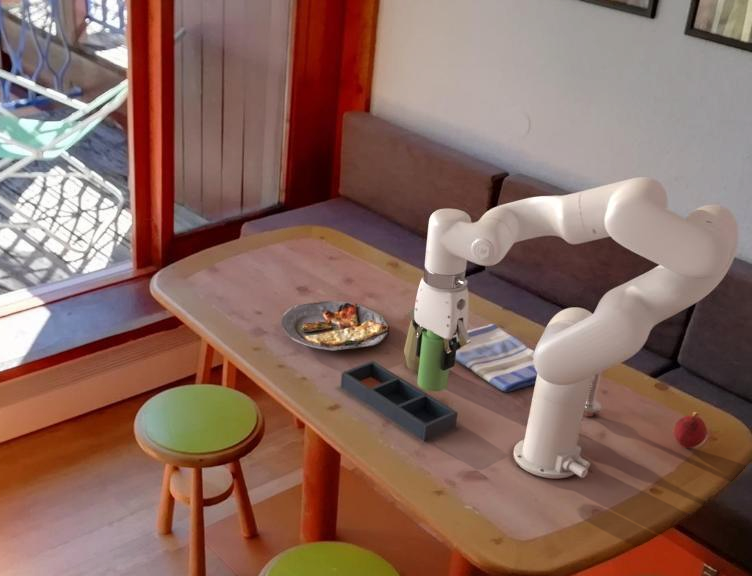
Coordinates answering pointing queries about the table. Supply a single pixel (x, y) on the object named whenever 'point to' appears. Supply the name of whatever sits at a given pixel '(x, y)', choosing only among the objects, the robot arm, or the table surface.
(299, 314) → the food plate
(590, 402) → the screw
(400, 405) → the tray
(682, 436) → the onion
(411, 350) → the squeeze bottle
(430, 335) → the bottle
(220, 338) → the table surface
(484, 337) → the dish towel
